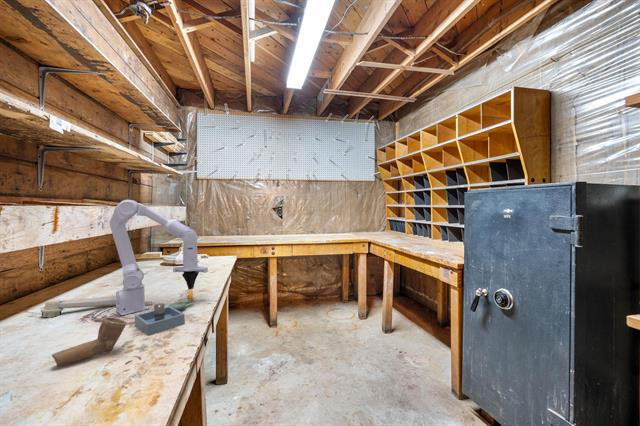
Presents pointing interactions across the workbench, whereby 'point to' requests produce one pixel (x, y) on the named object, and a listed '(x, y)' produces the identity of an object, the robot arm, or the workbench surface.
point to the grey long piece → (75, 304)
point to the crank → (183, 304)
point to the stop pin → (159, 312)
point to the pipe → (94, 343)
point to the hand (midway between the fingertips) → (191, 288)
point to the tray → (151, 327)
